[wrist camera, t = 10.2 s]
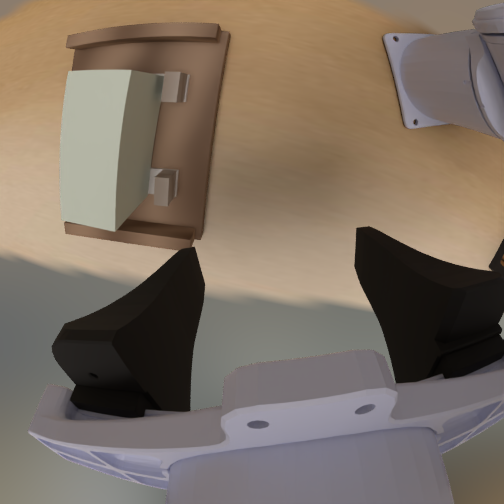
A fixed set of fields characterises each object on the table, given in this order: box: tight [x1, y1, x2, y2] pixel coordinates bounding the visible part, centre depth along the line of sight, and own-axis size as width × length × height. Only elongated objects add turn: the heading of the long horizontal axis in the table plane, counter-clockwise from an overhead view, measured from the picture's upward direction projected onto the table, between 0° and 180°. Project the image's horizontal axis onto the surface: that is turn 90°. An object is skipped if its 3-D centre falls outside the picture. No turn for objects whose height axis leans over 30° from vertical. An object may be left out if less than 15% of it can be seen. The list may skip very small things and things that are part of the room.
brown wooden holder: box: [64, 23, 230, 250], centre depth 17 cm, size 12×16×4 cm
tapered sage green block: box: [60, 70, 164, 232], centre depth 15 cm, size 4×9×6 cm, turn 166°
